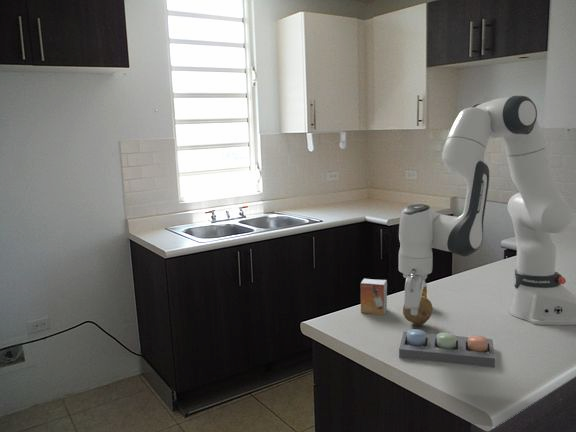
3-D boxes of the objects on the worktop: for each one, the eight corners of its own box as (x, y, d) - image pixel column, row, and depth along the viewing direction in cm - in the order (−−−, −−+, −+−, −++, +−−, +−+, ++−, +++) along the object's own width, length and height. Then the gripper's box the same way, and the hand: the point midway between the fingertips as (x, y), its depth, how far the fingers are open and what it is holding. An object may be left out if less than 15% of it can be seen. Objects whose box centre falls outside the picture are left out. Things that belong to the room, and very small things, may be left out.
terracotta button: (487, 346, 137) (487, 336, 136) (488, 354, 132) (488, 343, 131) (467, 344, 138) (467, 334, 138) (467, 352, 134) (468, 342, 133)
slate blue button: (426, 340, 142) (426, 330, 141) (424, 347, 137) (424, 337, 137) (407, 338, 143) (407, 328, 143) (406, 345, 139) (406, 335, 138)
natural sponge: (427, 333, 151) (428, 302, 149) (398, 329, 155) (398, 298, 153) (435, 323, 158) (435, 292, 157) (407, 318, 163) (407, 289, 161)
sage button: (456, 343, 139) (456, 333, 139) (455, 351, 135) (456, 340, 134) (437, 342, 141) (437, 331, 140) (436, 349, 136) (436, 339, 136)
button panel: (492, 347, 140) (492, 339, 139) (494, 367, 129) (495, 358, 128) (403, 339, 147) (403, 331, 147) (399, 357, 136) (399, 349, 136)
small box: (360, 312, 170) (359, 282, 168) (364, 307, 175) (363, 278, 173) (384, 315, 167) (384, 284, 165) (387, 309, 172) (387, 279, 170)
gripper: (424, 276, 126) (423, 329, 128) (429, 256, 145) (428, 302, 147) (398, 274, 128) (398, 326, 130) (407, 255, 147) (406, 300, 149)
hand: (414, 313), depth 139 cm, fingers closed
